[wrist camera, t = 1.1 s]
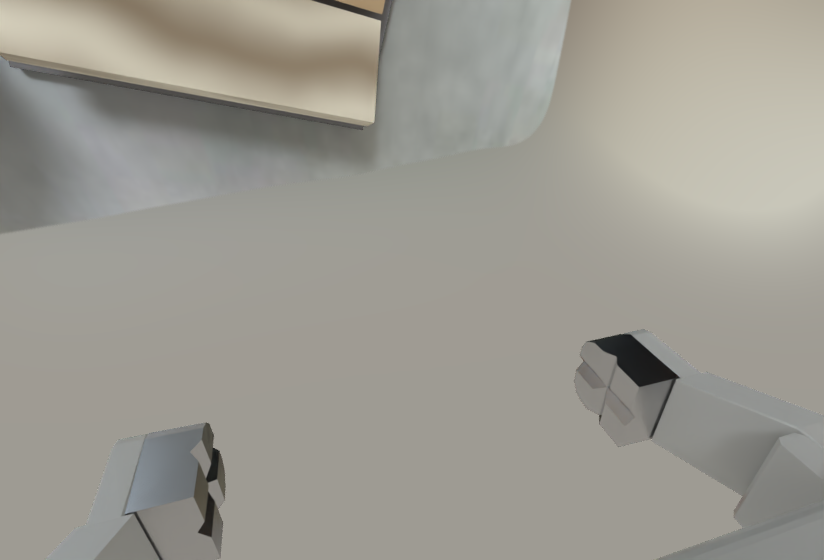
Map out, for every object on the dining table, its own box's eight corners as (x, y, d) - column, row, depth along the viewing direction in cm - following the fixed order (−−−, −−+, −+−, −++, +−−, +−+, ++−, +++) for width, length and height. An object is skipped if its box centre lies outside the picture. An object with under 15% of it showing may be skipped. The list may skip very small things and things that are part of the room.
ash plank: (4, -77, 24) (-8, -94, 23) (373, 28, 33) (380, 20, 32) (6, 60, 25) (-5, 51, 23) (367, 126, 34) (374, 122, 32)
